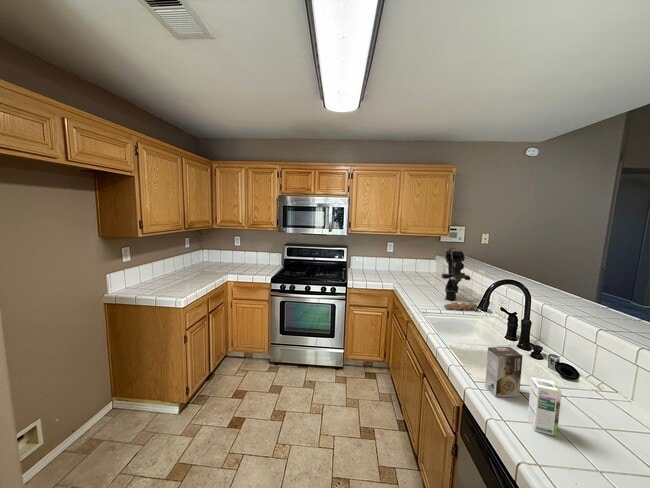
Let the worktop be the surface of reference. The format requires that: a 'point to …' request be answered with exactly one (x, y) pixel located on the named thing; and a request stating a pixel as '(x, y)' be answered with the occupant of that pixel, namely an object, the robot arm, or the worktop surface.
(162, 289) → the worktop surface
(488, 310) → the domino
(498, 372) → the coffee box
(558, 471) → the worktop surface
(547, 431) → the syrup box
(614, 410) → the worktop surface
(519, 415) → the worktop surface
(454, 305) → the domino
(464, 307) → the domino
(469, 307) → the domino
